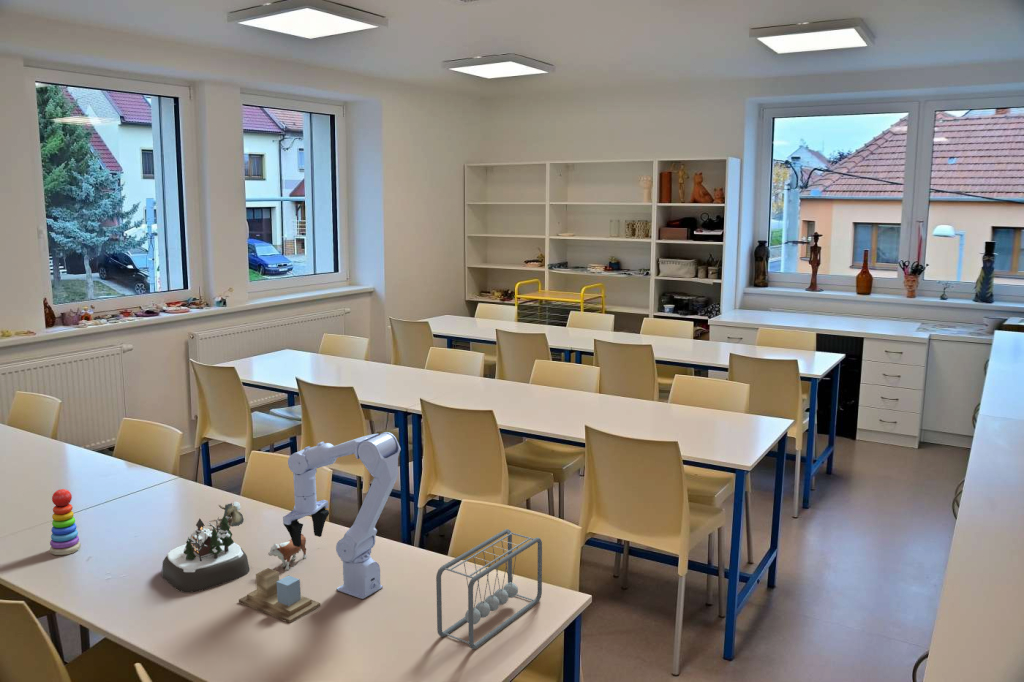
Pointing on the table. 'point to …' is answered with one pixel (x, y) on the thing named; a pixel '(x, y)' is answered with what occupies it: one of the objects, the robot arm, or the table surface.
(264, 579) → the brass block
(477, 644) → the newton's cradle
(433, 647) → the table surface
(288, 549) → the bull figurine
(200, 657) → the table surface
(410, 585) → the table surface
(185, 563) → the miniature diorama
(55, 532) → the stacking toy
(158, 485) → the table surface
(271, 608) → the plinth
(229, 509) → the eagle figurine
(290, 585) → the slate block
